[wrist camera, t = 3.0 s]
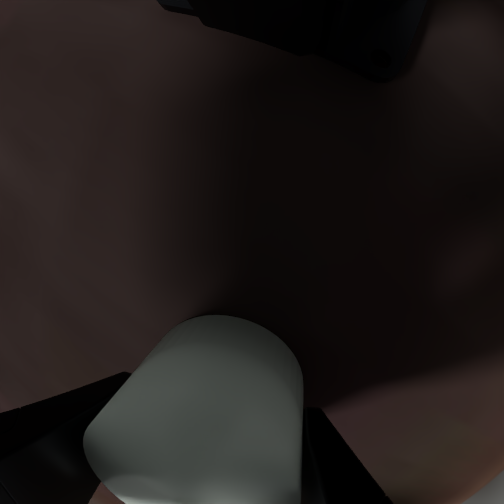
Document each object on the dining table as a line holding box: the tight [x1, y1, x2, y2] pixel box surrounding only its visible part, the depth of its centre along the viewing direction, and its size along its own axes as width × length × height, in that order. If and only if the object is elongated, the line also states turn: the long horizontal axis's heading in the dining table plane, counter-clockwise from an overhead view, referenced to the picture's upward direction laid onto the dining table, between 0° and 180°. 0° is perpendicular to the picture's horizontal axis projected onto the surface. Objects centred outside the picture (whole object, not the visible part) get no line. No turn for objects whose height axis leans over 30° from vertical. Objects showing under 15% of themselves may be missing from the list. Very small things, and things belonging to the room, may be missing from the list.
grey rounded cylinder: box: [83, 315, 303, 504], centre depth 6 cm, size 4×4×4 cm
